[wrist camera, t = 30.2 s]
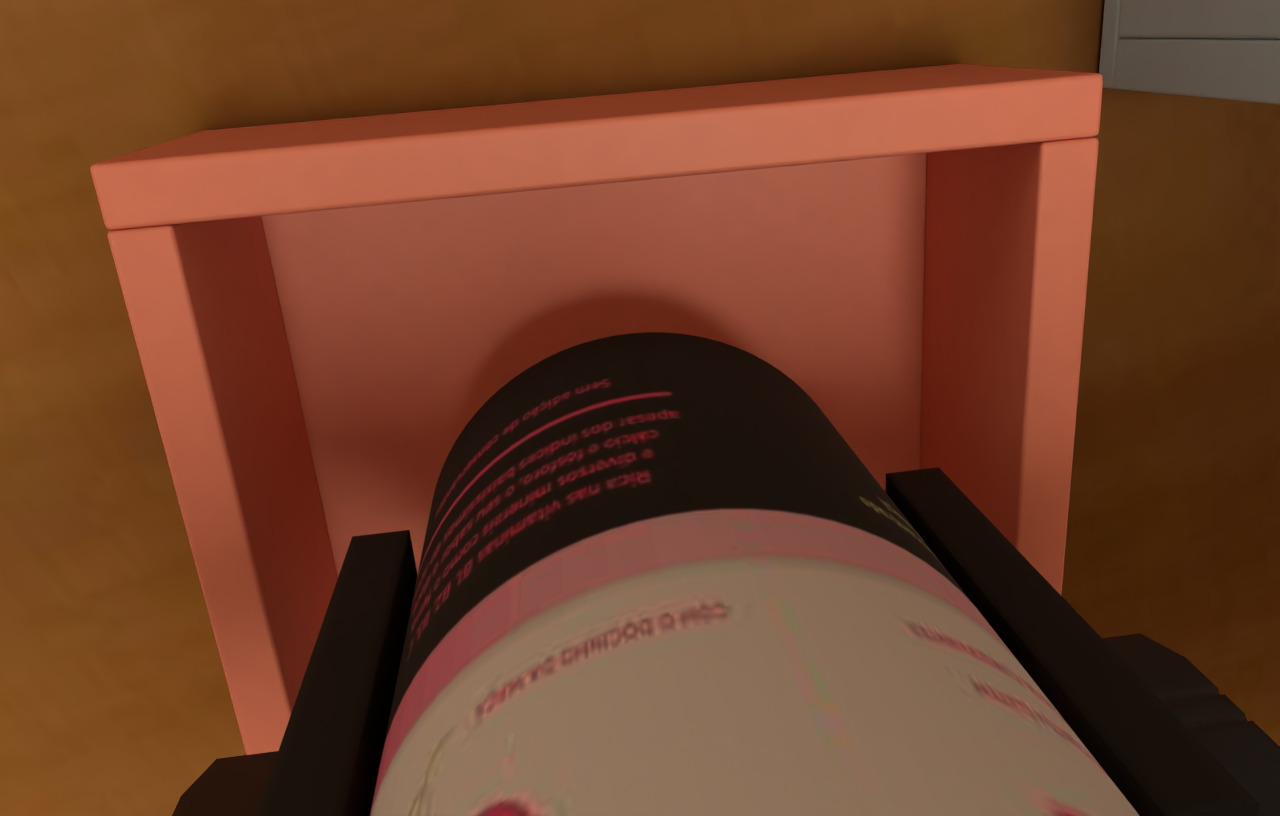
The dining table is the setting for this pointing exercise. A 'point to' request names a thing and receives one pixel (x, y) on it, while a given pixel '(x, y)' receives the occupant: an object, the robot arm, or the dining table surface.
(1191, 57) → the bin
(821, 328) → the can bin
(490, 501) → the beverage can
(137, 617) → the dining table surface
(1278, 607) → the dining table surface
